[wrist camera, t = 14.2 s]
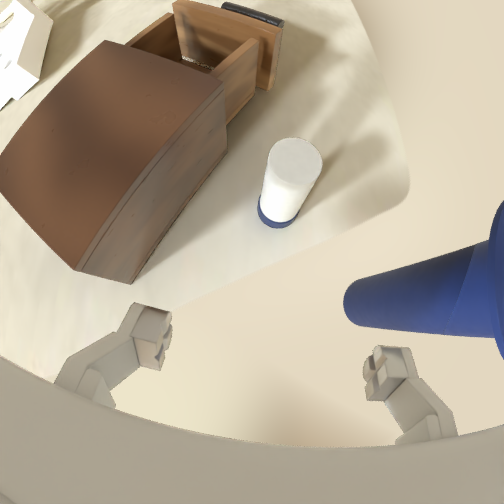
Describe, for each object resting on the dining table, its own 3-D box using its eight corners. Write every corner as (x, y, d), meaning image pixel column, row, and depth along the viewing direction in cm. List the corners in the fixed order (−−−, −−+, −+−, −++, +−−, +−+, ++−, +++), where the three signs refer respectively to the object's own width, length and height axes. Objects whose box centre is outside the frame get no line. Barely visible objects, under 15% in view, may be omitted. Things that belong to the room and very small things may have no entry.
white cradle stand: (16, 54, 31) (-17, 30, 21) (53, 21, 29) (20, -9, 19) (-1, 120, 28) (-48, 96, 18) (38, 79, 26) (-11, 45, 16)
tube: (303, 204, 26) (333, 155, 17) (283, 236, 25) (306, 197, 16) (270, 184, 26) (285, 126, 17) (249, 214, 25) (255, 165, 16)
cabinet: (132, 101, 27) (104, 39, 18) (228, 151, 26) (224, 81, 17) (46, 211, 24) (-14, 175, 15) (130, 285, 24) (73, 270, 14)
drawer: (214, 29, 29) (211, -19, 21) (296, 62, 28) (308, 9, 20) (104, 130, 25) (73, 83, 18) (191, 182, 25) (173, 132, 17)
